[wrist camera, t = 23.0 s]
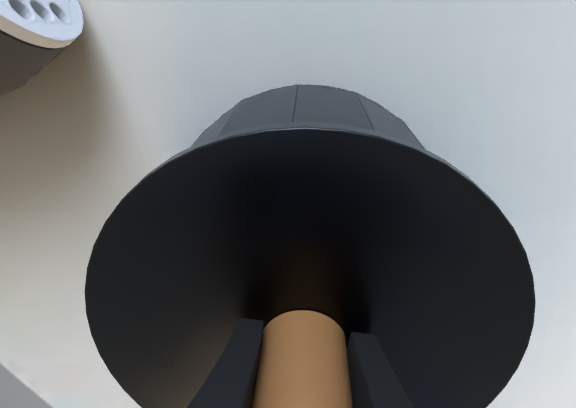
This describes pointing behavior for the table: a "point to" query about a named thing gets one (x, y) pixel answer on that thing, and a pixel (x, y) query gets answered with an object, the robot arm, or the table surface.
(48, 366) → the table surface
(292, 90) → the pot
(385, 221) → the pot lid
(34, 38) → the flashlight
